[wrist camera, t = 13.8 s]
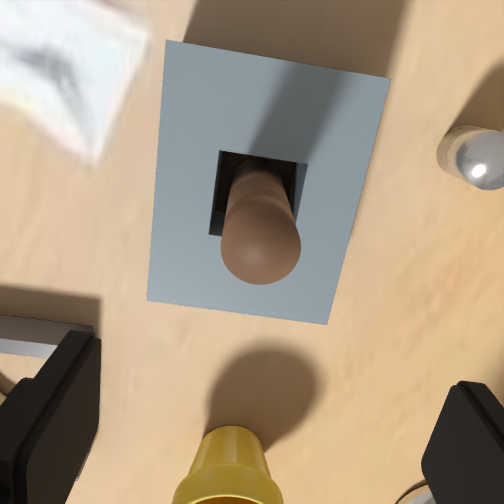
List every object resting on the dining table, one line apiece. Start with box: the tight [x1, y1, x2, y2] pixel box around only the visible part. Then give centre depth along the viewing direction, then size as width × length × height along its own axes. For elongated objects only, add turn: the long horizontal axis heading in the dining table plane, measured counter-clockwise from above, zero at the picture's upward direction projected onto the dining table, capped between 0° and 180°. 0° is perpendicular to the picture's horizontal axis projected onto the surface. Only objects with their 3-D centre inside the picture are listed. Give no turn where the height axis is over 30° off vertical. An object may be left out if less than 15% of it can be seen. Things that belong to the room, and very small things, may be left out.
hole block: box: [147, 40, 390, 325], centre depth 32 cm, size 14×18×6 cm
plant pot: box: [172, 425, 284, 504], centre depth 41 cm, size 10×10×10 cm
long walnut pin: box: [220, 157, 301, 285], centre depth 28 cm, size 4×4×15 cm
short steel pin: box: [437, 125, 504, 190], centre depth 32 cm, size 4×4×5 cm
